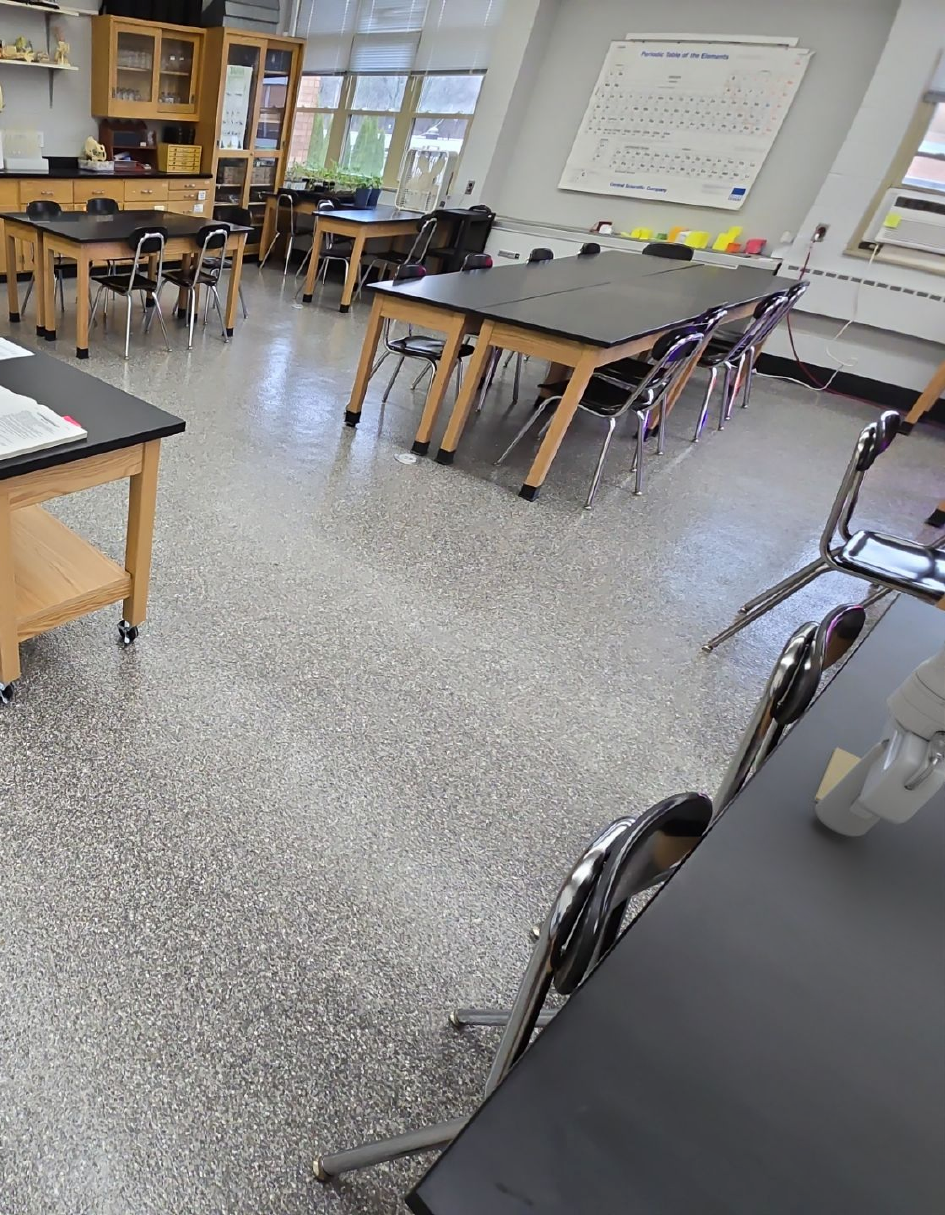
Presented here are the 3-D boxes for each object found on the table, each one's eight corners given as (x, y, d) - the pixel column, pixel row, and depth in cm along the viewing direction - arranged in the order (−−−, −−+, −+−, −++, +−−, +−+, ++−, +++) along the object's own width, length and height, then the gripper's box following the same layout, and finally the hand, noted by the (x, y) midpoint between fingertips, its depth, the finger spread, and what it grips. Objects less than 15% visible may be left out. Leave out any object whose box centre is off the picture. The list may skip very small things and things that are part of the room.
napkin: (834, 750, 97) (837, 747, 96) (876, 770, 94) (879, 767, 94) (813, 800, 89) (816, 797, 89) (858, 823, 87) (861, 820, 86)
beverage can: (803, 811, 86) (870, 743, 79) (827, 800, 88) (894, 732, 80) (847, 844, 82) (921, 776, 75) (871, 831, 84) (946, 763, 77)
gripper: (983, 782, 66) (882, 868, 75) (999, 686, 78) (910, 770, 86) (896, 742, 70) (809, 829, 78) (924, 656, 81) (845, 740, 90)
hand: (862, 797), depth 82 cm, fingers closed on beverage can, 5 cm apart
